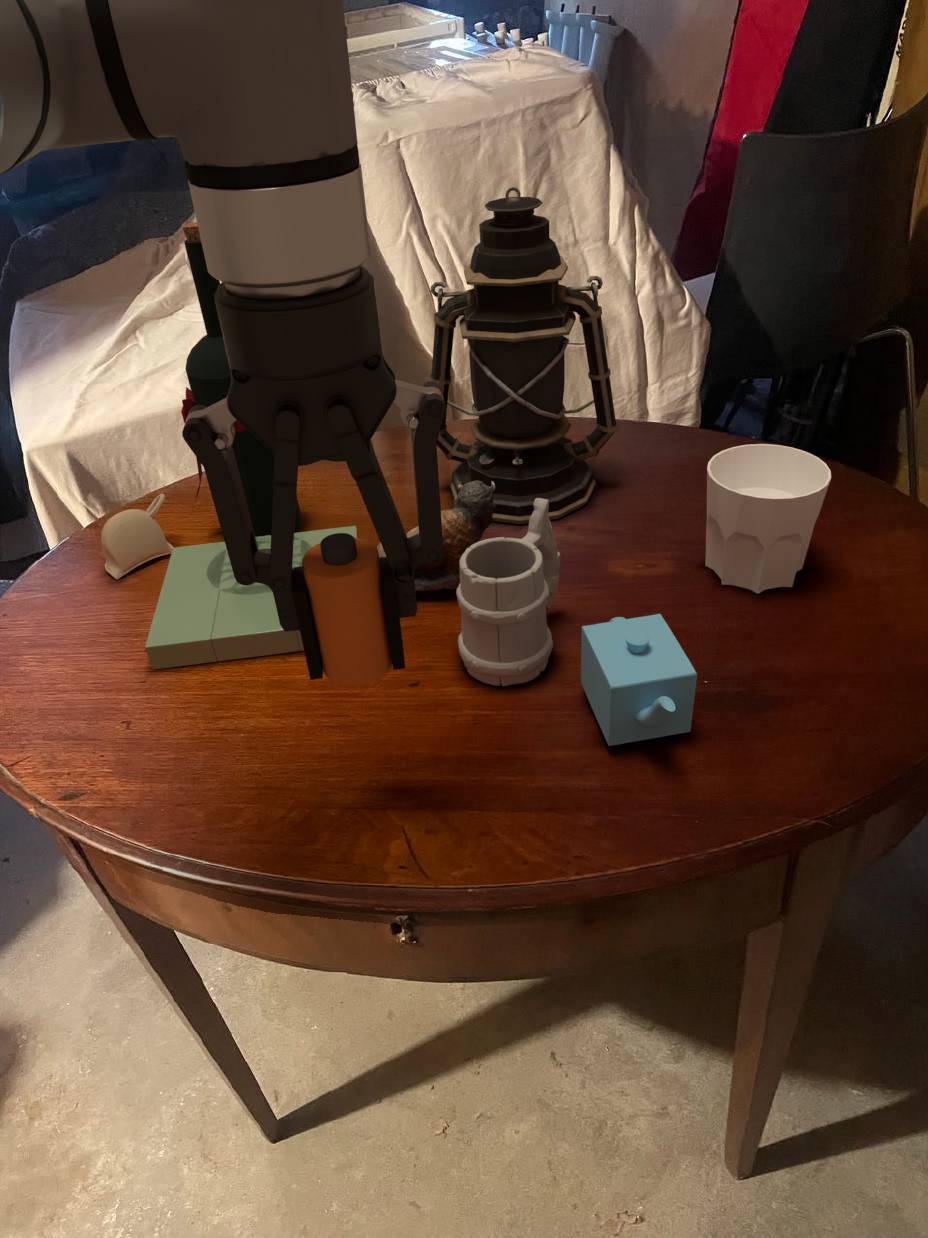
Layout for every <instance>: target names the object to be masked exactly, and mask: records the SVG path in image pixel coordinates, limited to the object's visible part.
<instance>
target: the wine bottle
mask: <svg viewBox="0 0 928 1238" xmlns="http://www.w3.org/2000/svg"><path fill="white" fill-rule="evenodd" d="M182 231H183V233H184V236H185V240H184V241H183V243H184V247H185V251H186V255H187V259H188V264H189V267H190V272H191V275H192V280H193V284H194V287H195V292H196V296H197V300H198V304H199V308H200V312H201V316H202V320H203V325H204V328H205V332H206V335H204V336H202V337H201V338H200V339H199V340H198V341H197V342H196V343H195V344H194V345H193V347H192V348H191V349H190V351H189V353H188V355H187V357H186V363H185V373H186V377H187V380H188V384H189V387H188V386H186V387H185V398H184V399H182V400H181V402H182V403H181V404H182V407H181V410H180V412H181V416H182V420H183V423H184V424H185V422H186V419H187V416H188V413H189V411H190V409H191V408H192V407H193V406H196V405H203V406H205V407H209V406H211V405H213V404H215V403H217V402H219V401H221V400H223V399H225V398H227V393H228V391H229V386H230V383H231V371H230V366H229V362H228V357H227V353H226V348H225V344H224V339H223V335H222V330H221V326H220V321H219V317H218V312H217V308H216V303H215V299H214V294H215V292H216V291H217V288H218V286H219V285H220V284H221V281H219V280H218V279H216V278H214V277H213V276H211V275H210V273H209V272H208V269H207V265H206V260H205V256H204V251H203V247H202V242H201V238H200V233H199V229H198V224H197V221H194V222H185V223H184V224H183V226H182ZM233 426H234V429H235V436H234V441H233V444H232V448H233V451H234V455H235V459H236V463H237V467H238V471H239V475H240V478H241V482H242V486H243V490H244V494H245V498H246V502H247V506H248V510H249V514H250V518H251V522H252V526H253V530H254V534H255V537H259V536H268V535H271V527H272V504H273V472H274V454H273V453H272V452H271V451H270V450H269V449H268V448H267V447H266V446H265V445H264V444H263V443H261V442H260V441H259V440H258V439H257V438H256V437H255V436H254V435H253V434H252V433H251V432H249V431H248V430H247V429H246V428H245V427H244V426H243V425H242V424H241V423H240V422H238V421H235V422H234V423H233ZM195 458H196V465H197V466H196V467H197V472H198V479H199V483H198V486H197V489H196V495H195V500H194V502H197V499H198V496H199V493H200V490H201V484H202V478H203V468H202V467H203V465H202V464H201V463H200V461H199V460H198V458H197V457H196V456H195ZM303 524H304V522H303V518H302V513H301V509H300V504H299V500H298V495H296V512H295V529H294V533H298V532H300V530H301V528H302V527H303Z"/></svg>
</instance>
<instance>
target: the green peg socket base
mask: <svg viewBox="0 0 928 1238" xmlns="http://www.w3.org/2000/svg"><path fill="white" fill-rule="evenodd" d="M336 533H346V534H350V535H352V536H353V537H355V538H359V534H358V533H359V532H358V527H357V525H351V526H350V525H349V526H340V527H333V528H332V527H331V528H324V529H316V530H308V531H299V532H298V533H294V545H293V562H292V566H293V570H294V567H299V566H302V559H303V557H304V555H305V553H306V552H307V551H308V550H309V549H310V548H312V547H313V546H315V545H317V544H319V543H321V541H322V540H323V539H324V538H325V537H327V536H329V535H332V534H336ZM255 538H256V541H257V545H258V549H259V552H264V553H269V554H270V551H271V535H268V536H259V537H255ZM173 547H174V546H173ZM169 557H170V558H169V560H168V564H167V568H166V571H165V576H164V578H163V582H162V586H161V589H160V593H159V596H158V600H157V603H156V606H155V611H154V614H153V617H152V620H151V623H150V628H149V630H148V636H147V638H146V642H145V646H144V649H145V652H146V655H147V657H148V660H149V663H150V666H151V669H152V670H153V671H154V670H155V671H156V670H162V669H171V668H176V667H177V668H178V667H186V666H192V665H193V666H194V665H202V664H209V663H210V664H211V663H217V662H224V661H233V660H242V659H249V658H257V657H264V656H272V655H279V654H280V655H281V654H288V653H289V654H290V653H297V652H304V647H303V643H302V638H301V633H300V630H296V631H288V632H285V631H284V629H283V628H282V627H281V626H280V622H279V617H278V613H277V608H276V604H275V600H274V595H273V592H272V590H271V589H270V588H269V587H268V586H267V585H265V584H261V583H256V582H254V583H253V584H252V585H248V586H245V585H241V584H239V583H238V582H237V581H236V579H235V577H234V573H233V570H232V566H231V563H230V559H229V556H228V552H227V548H226V545H225V541H224V540H223V541H218V542H209V543H200V544H193V545H183V546H176V547H174V548H173V550H172V553H171V554H170V556H169Z"/></svg>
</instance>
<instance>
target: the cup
mask: <svg viewBox="0 0 928 1238" xmlns="http://www.w3.org/2000/svg"><path fill="white" fill-rule="evenodd" d="M831 479H832V471H831V469H830V468H829V466H828V465H827V463H826V462H825V461H823V460H822V459H821V458H820V457H818V456H816V455H814V454H812V453H810V452H808V451H805V450H802V449H798V448H795V447H791V446H786V445H780V444H769V443H755V444H743V445H737V446H732V447H729V448H727V449H723V450H721V451H719V452H718V453H716V454H714V455H713V456H712V457H711V458H710V460H709V461H708V463H707V467H706V525H705V526H706V527H705V529H706V530H705V563H704V565H705V567H707V568H709V569H710V570H713V572H715V574H716V575H717V576H718V577H719V578H720V580H721V581H720V582H721V585H722V586H725V585H726V586H735V587H739V588H743V589H747V590H750V591H752V592H754V593H755V594H757V595H759V594H760V593H762V592H763V591H766V590H771V589H776V588H783V587H784V588H793V586H794V582H795V578H796V574H797V572H799V571H801V570H803V567H804V564H805V560H806V558H807V557H806V556H807V553H808V549H809V547H810V542H811V539H812V535H813V532H814V528H815V524H816V522H817V520H818V518H819V515H820V512H821V510H822V507H823V503H824V501H825V498H826V495H827V492H828V489H829V486H830V483H831Z"/></svg>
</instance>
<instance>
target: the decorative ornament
mask: <svg viewBox="0 0 928 1238" xmlns="http://www.w3.org/2000/svg"><path fill="white" fill-rule="evenodd" d="M165 499H166V495H165V494H164V493H159V494H157V496H156V497H155V498H154V499H153V500H152V502H151V503H150V504H149V506H148V508H147V509H146V510H143V509H138V508H130V509H126V510H123V511H119V512H117V513H116V514H114V515H113V516H111V517H110V518H108V520H107V521H106V522H105V523H104V524H103V527H102V530H101V532H100V537H101V538H100V544H101V549H102V554H103V556H104V559H105V563H104V569H105V570H106V572H107V573H108V574H109V575H110V576H111V577H112V578H114V580H116V581H117V580H119V579H120V578H122V577H123V576H125V575H126V574H127V573H129V572H131V571H132V570H134V569H135V568H137V567H139V566H140V565H142V564H145V563H146V562H149V561H151V560H153V559H155V558H159V557H162V556H166V555H171V554H172V550H173V548H174V546H173V545H172V544H171V543H170V542H168V541H167V539H166V536H165V533H164V532H163V529H162V528H161V526H160V524H159V523H158V521H157V520H156V519H155V517H156V515H157V514H158V513H159V511H160V509H161V508H162V506H163V504H164V502H165Z"/></svg>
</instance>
